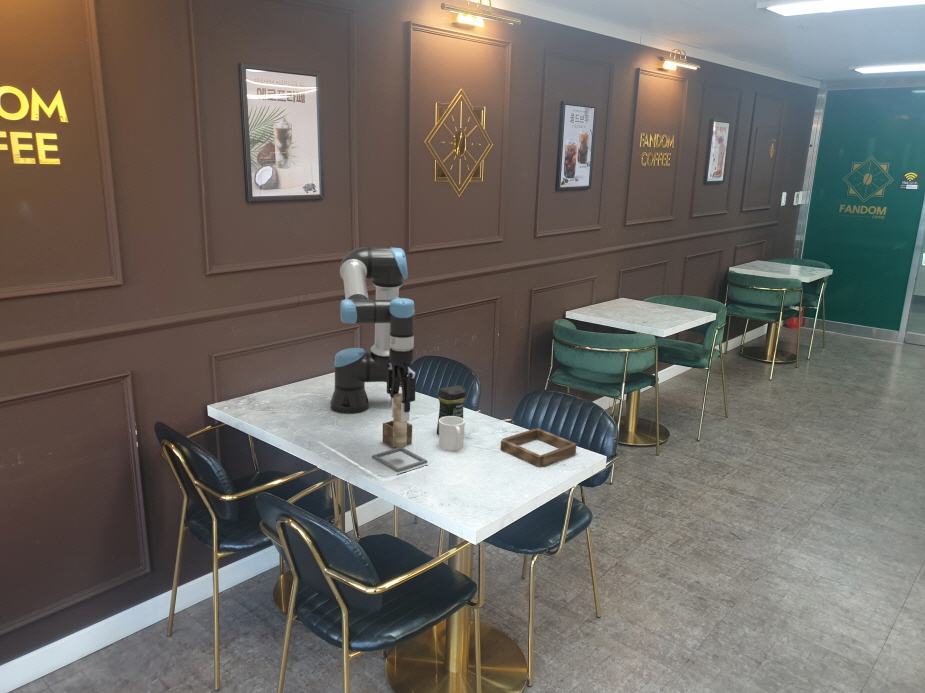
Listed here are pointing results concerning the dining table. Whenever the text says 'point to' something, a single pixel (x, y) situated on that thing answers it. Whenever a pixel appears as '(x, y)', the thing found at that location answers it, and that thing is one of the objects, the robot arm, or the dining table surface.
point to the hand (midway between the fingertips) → (400, 418)
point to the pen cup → (389, 433)
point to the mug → (451, 433)
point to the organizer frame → (535, 459)
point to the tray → (421, 461)
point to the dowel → (399, 424)
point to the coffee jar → (451, 402)
